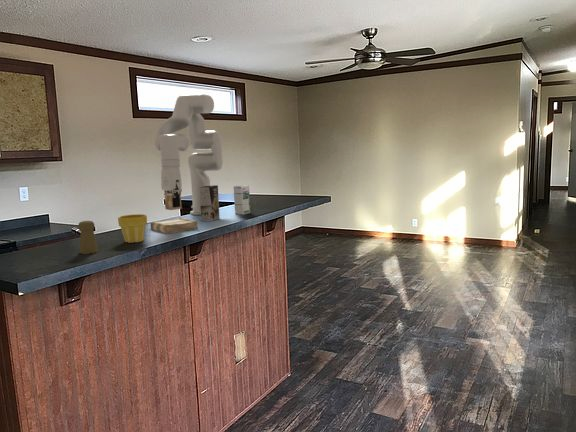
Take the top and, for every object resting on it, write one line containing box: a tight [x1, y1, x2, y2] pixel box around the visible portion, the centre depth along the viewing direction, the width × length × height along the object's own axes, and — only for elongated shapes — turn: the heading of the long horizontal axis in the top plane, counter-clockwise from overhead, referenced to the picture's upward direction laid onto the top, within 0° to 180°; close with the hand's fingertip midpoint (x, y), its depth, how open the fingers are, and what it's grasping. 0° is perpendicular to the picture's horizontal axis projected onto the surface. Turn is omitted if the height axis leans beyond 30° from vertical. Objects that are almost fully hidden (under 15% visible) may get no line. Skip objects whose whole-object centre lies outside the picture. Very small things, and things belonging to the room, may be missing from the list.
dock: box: [150, 217, 199, 234], centre depth 207 cm, size 16×14×3 cm
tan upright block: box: [163, 192, 183, 211], centre depth 204 cm, size 5×5×7 cm
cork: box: [77, 220, 99, 255], centre depth 166 cm, size 6×6×11 cm
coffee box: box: [199, 185, 221, 222], centre depth 228 cm, size 9×6×16 cm
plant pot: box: [117, 213, 148, 244], centre depth 183 cm, size 10×10×10 cm
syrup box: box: [233, 184, 251, 215], centre depth 244 cm, size 6×6×14 cm
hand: (173, 206), depth 205 cm, fingers closed on tan upright block, 5 cm apart
